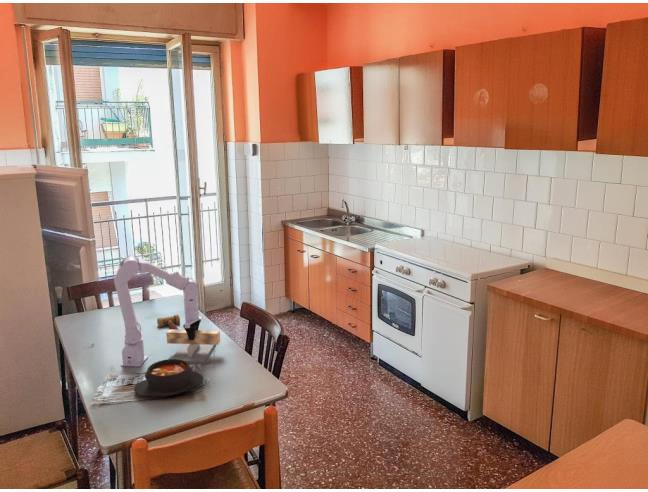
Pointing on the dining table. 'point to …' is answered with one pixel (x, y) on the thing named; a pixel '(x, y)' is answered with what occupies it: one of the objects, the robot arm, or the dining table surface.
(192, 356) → the fulcrum stand
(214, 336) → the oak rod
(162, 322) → the gavel
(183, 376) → the casserole
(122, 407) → the dining table surface
